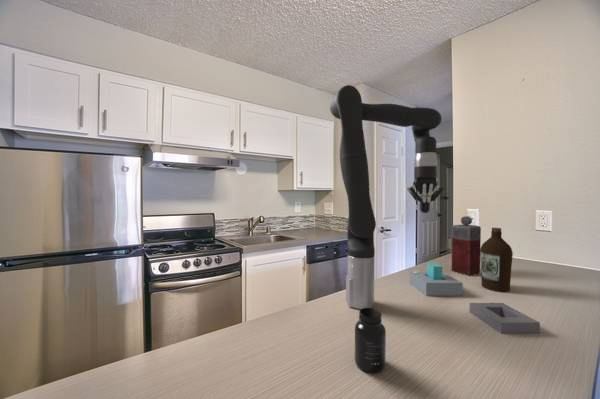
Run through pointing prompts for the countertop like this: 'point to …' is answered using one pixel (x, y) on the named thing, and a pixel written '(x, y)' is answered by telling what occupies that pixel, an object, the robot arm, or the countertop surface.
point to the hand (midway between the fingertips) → (424, 212)
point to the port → (436, 285)
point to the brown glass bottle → (496, 263)
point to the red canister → (466, 247)
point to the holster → (504, 318)
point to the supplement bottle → (370, 341)
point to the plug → (434, 271)
